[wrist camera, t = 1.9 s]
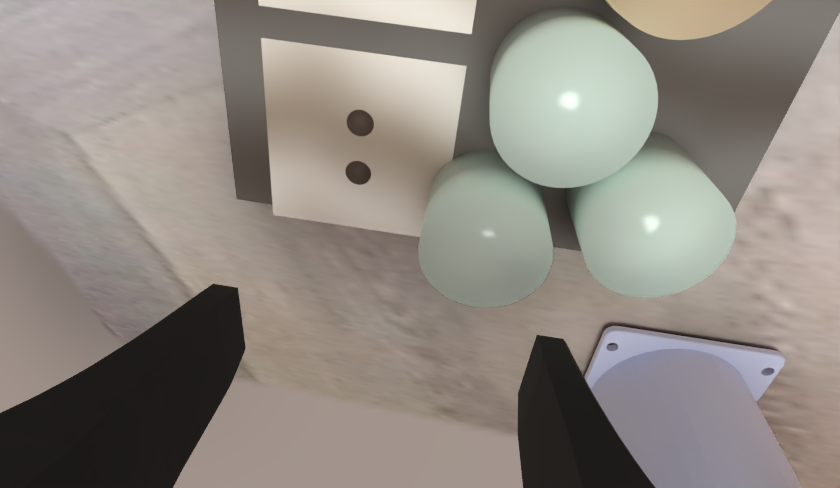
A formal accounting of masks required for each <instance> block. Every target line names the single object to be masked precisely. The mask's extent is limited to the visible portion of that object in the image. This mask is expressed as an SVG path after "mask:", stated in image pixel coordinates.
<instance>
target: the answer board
mask: <svg viewBox="0 0 840 488" xmlns="http://www.w3.org/2000/svg"><path fill="white" fill-rule="evenodd" d="M214 3H215V12H216V20H217V29H218V38H219V47H220V56H221V64H222V73H223V82H224V91H225V99H226V108H227V117H228V126H229V134H230V143H231V152H232V161H233V170H234V178H235V187H236V196H237V199H240V200H246V201H253V202H260V203H266V204H272V205H273V215H277V216H283V217H290V218H296V219H303V220H310V221H316V222H323V223H329V224H336V225H343V226H349V227H356V228H362V229H369V230H376V231H382V232H389V233H395V234H402V235H409V236H415V237H420V234H421V230H422V225H423V220H424V215H425V211H426V206H427V201H428V196H429V192H430V188H431V185H432V182H433V180H434V178H435V177H436V175H437V174H438V172H439V171H440V170H441V169H442V168H443V167H444V166H445V165H446V164H447V163H449V162H450V161H451V160H453V159H454V158H456V157H458V156H460V155H463V154H465V153H469V152H472V151H478V150H495V151H497V149H496V146H495V144H494V142H493V138H492V135H491V130H490V71H491V66H492V62H493V59H494V56H495V53H496V51H497V49H498V47H499V46H500V44H501V42H502V41H503V39H504V38H505V36H506V35H507V34H508V33H509V32H510V31H511V30H512V28H514V27H515V26H516V25H517V24H518V23H519V22H521V21H522V20H523V19H525V18H526V17H528V16H530V15H532V14H534V13H536V12H538V11H541V10H543V9H546V8H551V7H555V6H577V7H582V8H586V9H588V10H591V11H594V12H595V13H597V14H599V15H601V16H602V17H604V18H605V19H606V20H607V21H609V22H610V23H611V24H612V25H613V26H614V27H615V28H616V29H617V30H618V31H619V32H620V33H621V34H622V35H623V36H624V37H625V38H626V39H627V40H629V41H630V42H631V43H632V44H633V45H634V46H635V47H636V48H637V49H638V50H639V51H640V52H641V54H642V55H643V56H644V57H645V59H646V60H647V62H648V63H649V65H650V67H651V69H652V71H653V73H654V76H655V80H656V83H657V90H658V108H657V114H656V118H655V122H654V125H653V128H652V130H651V132H656V133H659V134H663V135H665V136H667V137H669V138H671V139H673V140H674V141H676V142H677V143H678V144H679V145H680V146H681V147H682V148H683V149H684V150H685V151H686V152H687V153H688V154H689V156H690V157H691V158H692V159H693V160H694V161H695V163H696V164H697V165H698V166H699V167H700V168H701V170H702V171H703V172H704V173H705V174H706V175H707V177H708V178H709V179H710V180H711V181H712V182H713V184H714V185H715V186H716V187H717V188H718V189H719V191H720V192H721V193H722V194H723V195H724V196H725V198H726V199H727V200H728V202H729V203H730V205H731V207H732V209H733V211H735V210H736V208H737V206H738V204H739V202H740V200H741V198H742V196H743V194H744V192H745V191H746V189H747V187H748V185H749V183H750V181H751V179H752V177H753V175H754V173H755V172H756V170H757V168H758V166H759V164H760V162H761V160H762V158H763V156H764V154H765V153H766V151H767V149H768V147H769V145H770V143H771V141H772V139H773V137H774V135H775V134H776V132H777V130H778V128H779V126H780V124H781V122H782V120H783V118H784V117H785V115H786V113H787V111H788V109H789V107H790V105H791V103H792V101H793V99H794V98H795V96H796V94H797V92H798V90H799V88H800V86H801V84H802V82H803V80H804V79H805V77H806V75H807V73H808V71H809V69H810V67H811V65H812V63H813V61H814V60H815V58H816V56H817V54H818V52H819V50H820V48H821V46H822V44H823V42H824V41H825V39H826V37H827V35H828V33H829V31H830V29H831V27H832V25H833V24H834V22H835V20H836V18H837V16H838V14H839V12H840V0H772V1H771V2H770V3H768V4H767V5H766V6H765V7H764V8H763V9H761V10H760V11H759V12H757V13H756V14H754V15H753V16H752V17H750V18H749V19H747V20H745V21H743V22H742V23H740V24H738V25H736V26H735V27H732V28H730V29H728V30H725V31H723V32H721V33H718V34H714V35H711V36H708V37H703V38H698V39H690V40H672V39H665V38H660V37H656V36H653V35H650V34H647V33H645V32H643V31H641V30H639V29H638V28H636V27H634V26H633V25H632V24H631V23H629V22H628V21H627V20H625V19H624V18H623V17H622V16H621V15H619V14H618V13H617V12H616V11H614V10H613V9H612V8H611V7H610V6H608V5H607V4H606V3H605V2H604V1H603V0H214ZM541 187H542V191H543V196H544V201H545V206H546V211H547V217H548V222H549V227H550V232H551V238H552V243H553V247H558V248H565V249H571V250H578V251H581V247H580V244H579V241H578V238H577V234H576V231H575V228H574V224H573V221H572V218H571V215H570V211H569V208H568V204H567V199H566V188H555V187H548V186H543V185H541Z"/></svg>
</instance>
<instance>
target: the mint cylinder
mask: <svg viewBox="0 0 840 488" xmlns="http://www.w3.org/2000/svg"><path fill="white" fill-rule="evenodd" d="M657 108H658V90H657V83H656V80H655V76H654V73H653V71H652V69H651V67H650V65H649V63H648V62H647V60H646V59H645V57H644V56H643V55H642V54H641V52H640V51H639V50H638V49H637V48H636V47H635V46H634V45H633V44H632V43H631V42H630V41H629V40H627V39H626V38H625V37H624V36H623V35H622V34H621V33H620V32H619V31H618V30H617V29H616V28H615V27H614V26H613V25H612V24H611V23H610V22H609V21H607V20H606V19H605V18H604V17H602V16H601V15H599V14H597V13H595V12H594V11H591V10H588V9H586V8H582V7H577V6H555V7H551V8H546V9H543V10H541V11H538V12H536V13H534V14H532V15H530V16H528V17H526V18H525V19H523V20H522V21H521V22H519V23H518V24H517V25H516V26H515V27H514V28H512V30H511V31H510V32H509V33H508V34H507V35H506V36H505V38H504V39H503V41H502V42H501V44H500V46H499V47H498V49H497V51H496V53H495V56H494V59H493V62H492V66H491V71H490V130H491V135H492V138H493V142H494V144H495V146H496V149H497V151H498V153H499V154H500V156H501V157H502V159H503V160H504V161H505V162H506V164H507V165H508V166H509V167H510V168H511V169H512V170H514V171H515V172H516V173H517V174H519V175H520V176H522V177H523V178H525V179H527V180H529V181H531V182H534V183H537V184H540V185H543V186H548V187H555V188H573V187H580V186H584V185H588V184H592V183H595V182H597V181H600V180H602V179H604V178H606V177H608V176H610V175H612V174H613V173H615V172H617V171H618V170H620V169H621V168H622V167H623V166H625V165H626V164H627V163H628V162H629V161H630V160H631V159H632V158H633V157H634V156H635V155H636V154H637V153H638V151H639V150H640V149H641V148H642V146H643V145H644V143H645V142H646V140H647V138H648V137H649V134H650V132H651V130H652V128H653V125H654V122H655V118H656V114H657Z"/></svg>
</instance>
